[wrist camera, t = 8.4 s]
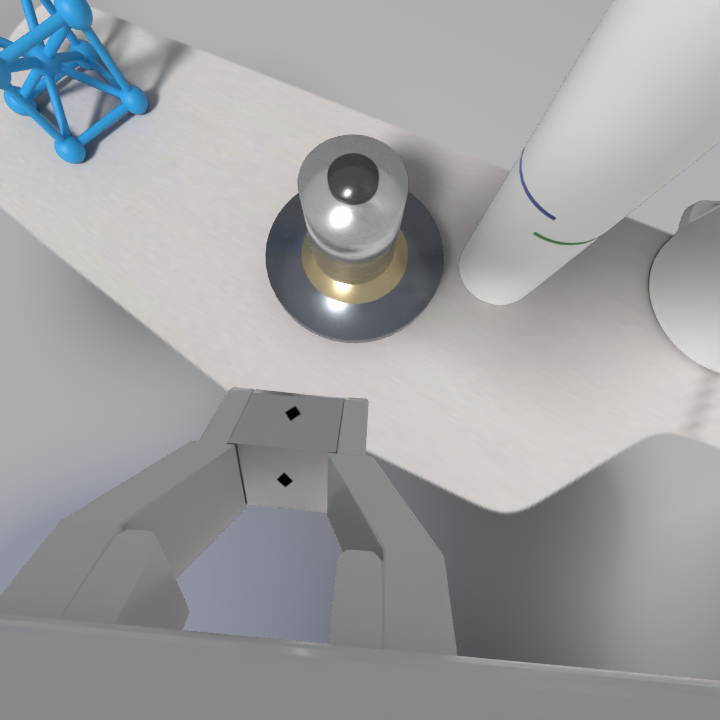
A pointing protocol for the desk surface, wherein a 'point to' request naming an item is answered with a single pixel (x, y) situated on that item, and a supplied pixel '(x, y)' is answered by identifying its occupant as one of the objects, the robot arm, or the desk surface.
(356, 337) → the turntable platter
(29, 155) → the desk surface
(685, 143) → the cylindrical container
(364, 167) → the silver metal canister
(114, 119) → the molecular structure
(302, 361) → the desk surface
